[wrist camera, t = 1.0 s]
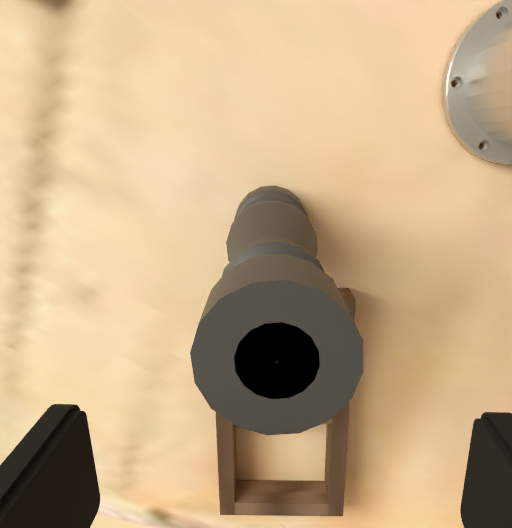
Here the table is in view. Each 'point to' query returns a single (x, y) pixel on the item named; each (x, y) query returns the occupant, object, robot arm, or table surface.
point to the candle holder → (275, 325)
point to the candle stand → (286, 492)
